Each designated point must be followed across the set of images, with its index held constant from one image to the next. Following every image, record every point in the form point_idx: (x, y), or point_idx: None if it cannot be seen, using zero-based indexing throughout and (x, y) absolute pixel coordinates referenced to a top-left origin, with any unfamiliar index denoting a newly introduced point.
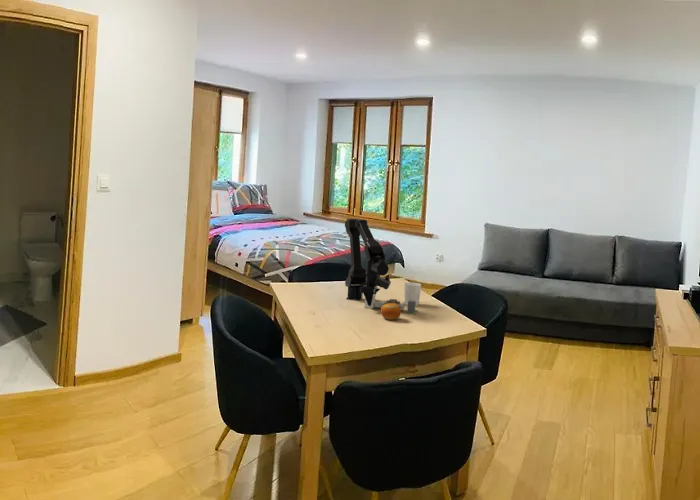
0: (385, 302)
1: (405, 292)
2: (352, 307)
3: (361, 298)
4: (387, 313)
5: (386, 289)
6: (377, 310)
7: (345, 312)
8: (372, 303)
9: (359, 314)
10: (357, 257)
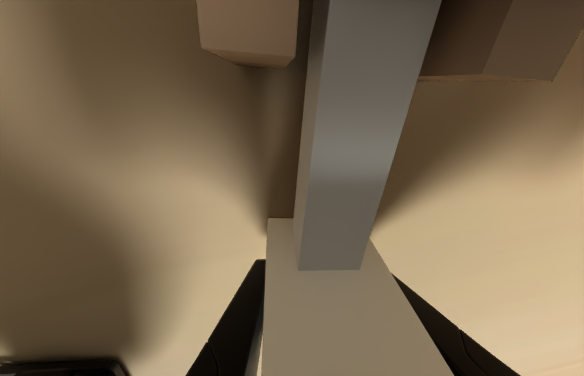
0: (534, 56)
1: None
2: None
3: (30, 367)
4: None
5: None
6: (430, 160)
7: (507, 325)
8: (379, 264)
9: (579, 256)
10: None
